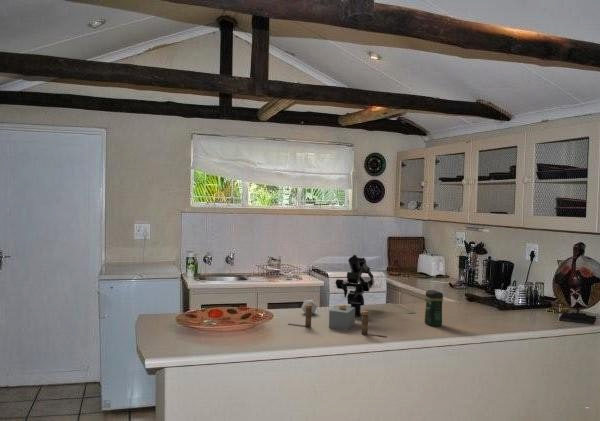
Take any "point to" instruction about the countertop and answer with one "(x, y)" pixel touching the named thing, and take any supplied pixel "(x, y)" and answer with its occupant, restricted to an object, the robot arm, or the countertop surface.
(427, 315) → the coffee jar
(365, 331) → the brown l-shaped pieces
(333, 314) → the gray block
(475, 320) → the countertop surface
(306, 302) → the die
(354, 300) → the robot arm
